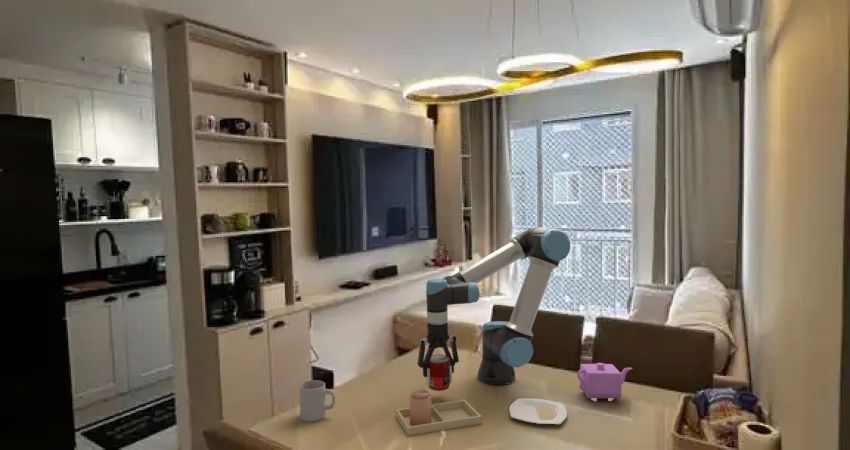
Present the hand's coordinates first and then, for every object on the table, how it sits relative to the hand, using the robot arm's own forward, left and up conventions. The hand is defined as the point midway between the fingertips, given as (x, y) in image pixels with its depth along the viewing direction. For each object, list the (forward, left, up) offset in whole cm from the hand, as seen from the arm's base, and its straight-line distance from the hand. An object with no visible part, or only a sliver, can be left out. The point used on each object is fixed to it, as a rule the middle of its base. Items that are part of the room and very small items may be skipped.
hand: (438, 383), depth 184 cm
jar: (+13, +17, -5) cm, 22 cm away
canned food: (0, 0, -2) cm, 2 cm away
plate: (-27, +23, -7) cm, 36 cm away
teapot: (-58, +18, -6) cm, 61 cm away
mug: (+44, 0, -6) cm, 44 cm away
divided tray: (+7, +17, -6) cm, 19 cm away
